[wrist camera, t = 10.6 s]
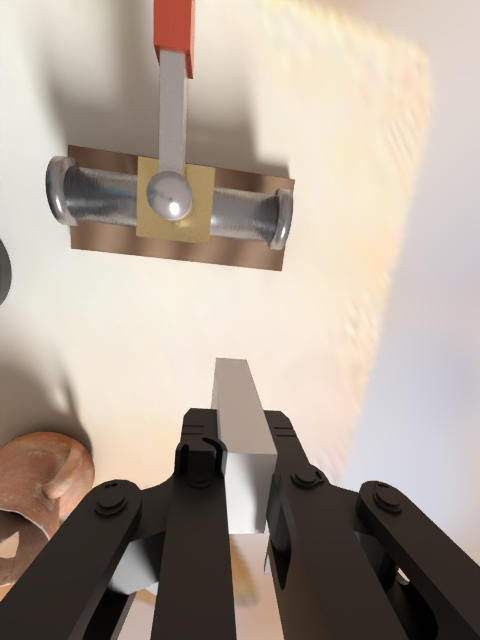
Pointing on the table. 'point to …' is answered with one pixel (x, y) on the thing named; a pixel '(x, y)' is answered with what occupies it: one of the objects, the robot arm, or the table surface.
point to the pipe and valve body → (134, 210)
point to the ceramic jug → (38, 492)
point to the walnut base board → (215, 253)
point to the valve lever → (173, 107)
